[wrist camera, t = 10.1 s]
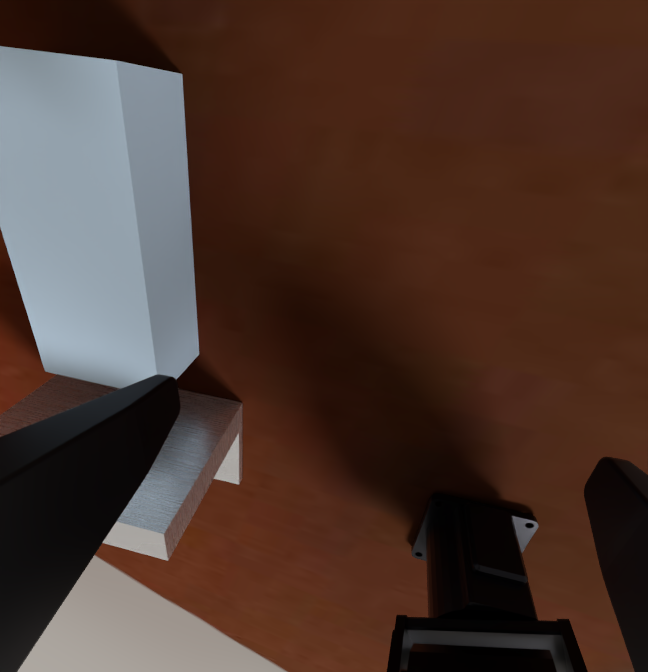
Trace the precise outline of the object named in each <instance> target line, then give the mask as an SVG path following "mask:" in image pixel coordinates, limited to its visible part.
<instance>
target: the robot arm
mask: <svg viewBox="0 0 648 672" xmlns="http://www.w3.org/2000/svg"><path fill="white" fill-rule="evenodd" d="M180 407H181V405H180V397H179V390H178V383H177V380H176V379H175V378H174V377H172V376H167V375H161V374H157V375H154V376H151V377H149V378H146V379H144V380H141V381H139V382H136V383H134V384H131V385H129V386H126V387H124V388H121V389H119V390H116V391H114V392H111V393H109V394H106V395H104V396H101V397H99V398H96V399H94V400H91V401H89V402H86V403H84V404H81V405H79V406H76V407H74V408H71V409H69V410H66V411H64V412H61V413H59V414H56V415H54V416H51V417H49V418H46V419H44V420H41V421H39V422H36V423H34V424H31V425H29V426H26V427H24V428H21V429H19V430H16V431H14V432H11V433H9V434H6V435H4V436H1V437H0V672H17V671H18V669H19V668H20V666H21V665H22V664H23V662H24V660H25V659H26V658H27V656H28V655H29V653H30V651H31V650H32V648H33V647H34V645H35V644H36V642H37V641H38V639H39V638H40V636H41V635H42V633H43V632H44V630H45V629H46V627H47V625H48V624H49V623H50V621H51V620H52V618H53V617H54V615H55V614H56V612H57V610H58V609H59V608H60V606H61V605H62V603H63V602H64V600H65V599H66V597H67V596H68V594H69V593H70V591H71V590H72V588H73V586H74V585H75V583H76V582H77V580H78V579H79V577H80V576H81V574H82V572H83V571H84V570H85V568H86V567H87V565H88V564H89V562H90V560H91V559H92V558H93V556H94V555H95V553H96V552H97V550H98V549H99V547H100V546H101V544H102V543H103V541H104V540H105V538H106V537H107V535H108V534H109V532H110V531H111V529H112V528H113V526H114V525H115V523H116V521H117V520H118V518H119V517H120V515H121V514H122V512H123V511H124V509H125V508H126V506H127V505H128V503H129V502H130V500H131V499H132V497H133V496H134V494H135V493H136V491H137V490H138V488H139V487H140V485H141V484H142V482H143V481H144V479H145V477H146V476H147V474H148V473H149V471H150V469H151V467H152V465H153V464H154V462H155V460H156V458H157V456H158V454H159V452H160V450H161V448H162V446H163V444H164V443H165V441H166V439H167V437H168V435H169V433H170V431H171V429H172V427H173V425H174V423H175V421H176V420H177V418H178V415H179V413H180ZM584 497H585V502H586V506H587V511H588V515H589V520H590V524H591V528H592V533H593V537H594V542H595V546H596V551H597V555H598V559H599V564H600V567H601V571H602V575H603V578H604V581H605V585H606V588H607V591H608V594H609V597H610V600H611V603H612V606H613V609H614V612H615V615H616V617H617V620H618V623H619V626H620V629H621V632H622V635H623V638H624V641H625V644H626V647H627V650H628V653H629V656H630V659H631V662H632V665H633V668H634V671H635V672H648V475H647V474H646V473H644V472H643V471H642V470H640V469H639V468H638V467H636V466H635V465H634V464H632V463H631V462H629V461H627V460H623V459H618V458H612V457H603V458H602V459H600V461H599V462H598V464H597V465H596V467H595V469H594V470H593V472H592V474H591V476H590V477H589V479H588V481H587V483H586V485H585V488H584ZM537 528H538V523H537V520H536V518H535V517H534V516H532V515H529V514H525V513H521V512H516V511H512V510H508V509H504V508H499V507H495V506H491V505H486V504H482V503H478V502H473V501H469V500H465V499H461V498H456V497H452V496H448V495H443V494H433V495H432V496H431V497H430V500H429V503H428V505H427V508H426V511H425V513H424V516H423V518H422V521H421V524H420V526H419V529H418V532H417V534H416V537H415V540H414V542H413V545H412V556H413V557H415V558H417V559H421V560H425V561H427V587H428V615H429V618H425V617H407V615H397V617H396V624H395V630H393V633H392V640H391V647H390V654H389V661H388V668H387V672H588V671H587V669H586V666H585V663H584V660H583V657H582V655H581V652H580V649H579V646H578V643H577V641H576V638H575V635H574V632H573V629H572V627H571V624H570V621H569V619H557V621H539V620H538V618H537V614H536V610H535V606H534V602H533V599H532V595H531V591H530V587H529V583H528V577H527V573H526V569H525V565H524V561H523V557H522V552H523V550H524V549H525V547H526V545H527V544H528V542H529V541H530V539H531V538H532V536H533V534H534V533H535V531H536V530H537Z"/></svg>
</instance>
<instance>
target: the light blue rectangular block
mask: <svg viewBox="0 0 648 672" xmlns="http://www.w3.org/2000/svg"><path fill="white" fill-rule="evenodd" d="M0 228H1V231H2V234H3V237H4V241H5V244H6V247H7V250H8V253H9V257H10V260H11V263H12V266H13V270H14V273H15V276H16V279H17V282H18V286H19V289H20V292H21V295H22V299H23V302H24V305H25V308H26V311H27V315H28V318H29V321H30V324H31V328H32V331H33V334H34V337H35V340H36V344H37V347H38V350H39V353H40V357H41V360H42V363H43V366H44V369H45V371H46V372H50V373H54V374H59V375H63V376H68V377H72V378H76V379H81V380H85V381H90V382H94V383H98V384H103V385H107V386H112V387H116V388H120V389H121V388H124V387H126V386H129V385H131V384H134V383H136V382H139V381H141V380H144V379H146V378H149V377H151V376H154V375H157V374H161V375H167V376H172V377H174V378H175V379H177V378H178V377H179V376H180V375H181V374H182V373H183V372H184V371H185V370H186V368H187V367H188V366H189V365H190V364H191V363H192V362H193V361H194V360H195V358H196V357H197V356H198V355H199V343H198V326H197V310H196V293H195V277H194V260H193V244H192V227H191V211H190V195H189V178H188V162H187V145H186V129H185V112H184V96H183V79H182V74H180V73H175V72H170V71H165V70H160V69H155V68H151V67H146V66H141V65H136V64H131V63H126V62H121V61H116V60H108V59H100V58H92V57H84V56H76V55H68V54H60V53H51V52H43V51H35V50H27V49H19V48H11V47H3V46H0Z"/></svg>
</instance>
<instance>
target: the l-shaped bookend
mask: <svg viewBox="0 0 648 672" xmlns="http://www.w3.org/2000/svg"><path fill="white" fill-rule="evenodd" d="M119 389H120V388H116V387H112V386H107V385H103V384H98V383H94V382H90V381H85V380H81V379H76V378H72V377H68V376H63V375H59V374H57V375H56V376H54V377H53V378H51V379H50V380H49V381H47V382H46V383H44V384H43V385H42V386H40V387H39V388H38V389H36V390H35V391H33V392H32V393H31V394H29V395H28V396H26V397H25V398H24V399H22V400H21V401H19V402H18V403H17V404H15V405H14V406H12V407H11V408H10V409H8V410H7V411H5V412H4V413H3V414H1V415H0V437H1V436H4V435H6V434H9V433H11V432H14V431H16V430H19V429H21V428H24V427H26V426H29V425H31V424H34V423H36V422H39V421H41V420H44V419H46V418H49V417H51V416H54V415H56V414H59V413H61V412H64V411H66V410H69V409H71V408H74V407H76V406H79V405H81V404H84V403H86V402H89V401H91V400H94V399H96V398H99V397H101V396H104V395H106V394H109V393H111V392H114V391H116V390H119ZM178 390H179V397H180V405H181V407H180V413H179V415H178V418H177V420H176V421H175V423H174V425H173V427H172V429H171V431H170V433H169V435H168V437H167V439H166V441H165V443H164V444H163V446H162V448H161V450H160V452H159V454H158V456H157V458H156V460H155V462H154V464H153V465H152V467H151V469H150V471H149V473H148V474H147V476H146V477H145V479H144V481H143V482H142V484H141V485H140V487H139V488H138V490H137V491H136V493H135V494H134V496H133V497H132V499H131V500H130V502H129V503H128V505H127V506H126V508H125V509H124V511H123V512H122V514H121V515H120V517H119V518H118V520H117V521H116V523H115V525H114V526H113V528H112V529H111V531H110V532H109V534H108V535H107V537H106V538H105V540H104V541H103V543H105V544H109V545H113V546H116V547H120V548H124V549H127V550H131V551H135V552H138V553H142V554H146V555H149V556H153V557H156V558H160V559H164V560H167V561H168V560H169V558H170V557H171V555H172V553H173V551H174V549H175V547H176V546H177V544H178V542H179V540H180V538H181V537H182V535H183V533H184V531H185V529H186V527H187V526H188V524H189V522H190V520H191V518H192V517H193V515H194V513H195V511H196V509H197V508H198V506H199V504H200V502H201V500H202V498H203V497H204V495H205V493H206V491H207V489H208V488H209V486H210V484H211V482H212V480H213V479H218V480H223V481H227V482H231V483H235V484H240V482H241V480H242V402H237V401H233V400H228V399H223V398H219V397H214V396H210V395H205V394H201V393H196V392H191V391H187V390H182V389H178Z"/></svg>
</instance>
